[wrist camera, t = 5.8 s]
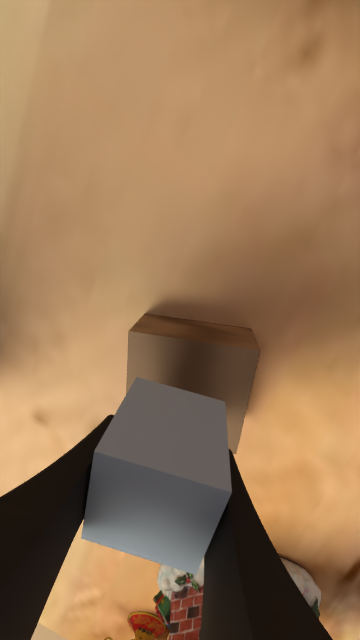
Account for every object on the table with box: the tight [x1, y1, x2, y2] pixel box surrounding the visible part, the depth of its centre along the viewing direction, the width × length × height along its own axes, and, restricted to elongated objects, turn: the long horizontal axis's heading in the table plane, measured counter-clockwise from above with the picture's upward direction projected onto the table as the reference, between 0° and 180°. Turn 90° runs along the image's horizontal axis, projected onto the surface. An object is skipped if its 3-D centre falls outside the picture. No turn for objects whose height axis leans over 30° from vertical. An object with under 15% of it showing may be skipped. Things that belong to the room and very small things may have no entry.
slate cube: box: [81, 377, 232, 575], centre depth 10 cm, size 4×4×4 cm
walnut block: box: [126, 314, 260, 454], centre depth 18 cm, size 8×8×4 cm
